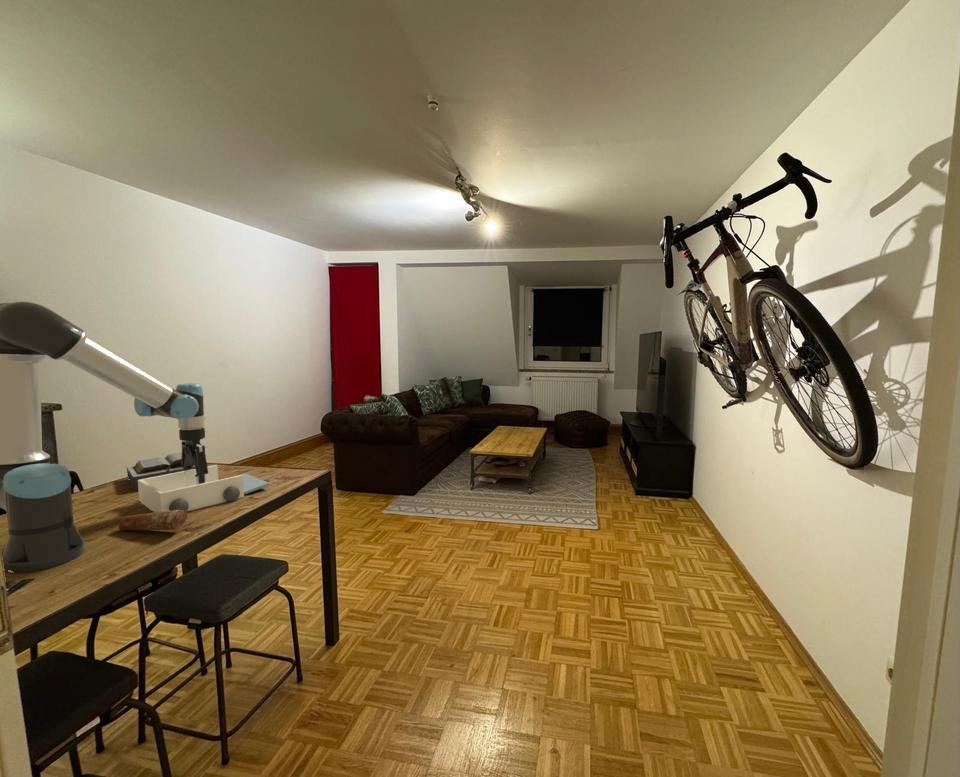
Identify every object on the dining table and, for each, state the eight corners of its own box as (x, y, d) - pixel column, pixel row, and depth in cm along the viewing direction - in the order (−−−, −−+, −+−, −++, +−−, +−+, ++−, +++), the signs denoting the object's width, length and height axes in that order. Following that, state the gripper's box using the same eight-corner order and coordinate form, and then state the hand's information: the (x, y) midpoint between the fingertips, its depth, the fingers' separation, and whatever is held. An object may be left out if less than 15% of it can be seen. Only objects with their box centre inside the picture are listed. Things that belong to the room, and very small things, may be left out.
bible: (209, 483, 174) (207, 459, 173) (121, 496, 159) (119, 469, 158) (207, 469, 193) (206, 447, 192) (128, 479, 178) (127, 455, 177)
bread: (177, 534, 125) (171, 517, 124) (115, 534, 127) (109, 517, 125) (192, 521, 131) (187, 505, 130) (133, 521, 133) (128, 505, 131)
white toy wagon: (163, 519, 137) (162, 494, 136) (137, 501, 152) (136, 479, 152) (246, 497, 157) (245, 476, 156) (216, 484, 172) (214, 464, 171)
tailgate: (243, 492, 159) (269, 482, 166) (219, 481, 171) (244, 473, 178) (243, 494, 159) (269, 485, 166) (219, 484, 171) (244, 475, 178)
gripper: (217, 430, 149) (220, 494, 151) (191, 422, 163) (194, 481, 165) (192, 433, 143) (196, 500, 145) (167, 425, 157) (171, 486, 159)
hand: (195, 490), depth 155 cm, fingers open, 9 cm apart
